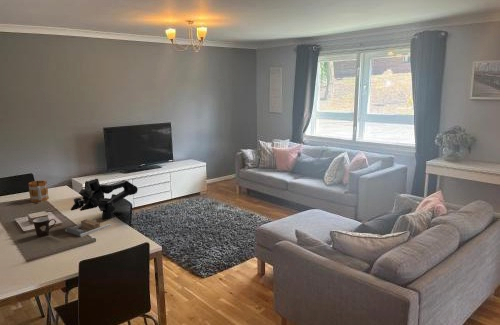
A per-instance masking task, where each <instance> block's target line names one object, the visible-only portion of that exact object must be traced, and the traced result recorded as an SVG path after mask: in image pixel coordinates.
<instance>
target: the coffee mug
mask: <svg viewBox="0 0 500 325" xmlns="http://www.w3.org/2000/svg"><path fill="white" fill-rule="evenodd" d="M51 221H54V223H53V225H51V226H50V222H51ZM32 223H33V225H34V226H33V227H34V230H35V233H36V236H37V238H43V237H47V236H49V233H50V232H49V231H50V230H51V229H52V228H53V227H54V226H55V224H56V223H57V221H56V219H53V218H52V219H50V218H49V217H48V216H47V217H44V216H43V217H37V218H35V219H33V220H32Z"/></svg>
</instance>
